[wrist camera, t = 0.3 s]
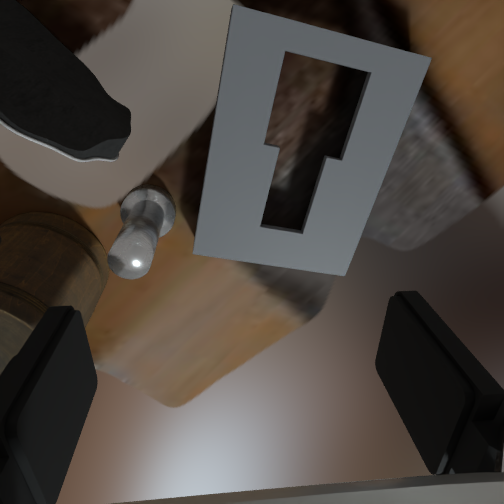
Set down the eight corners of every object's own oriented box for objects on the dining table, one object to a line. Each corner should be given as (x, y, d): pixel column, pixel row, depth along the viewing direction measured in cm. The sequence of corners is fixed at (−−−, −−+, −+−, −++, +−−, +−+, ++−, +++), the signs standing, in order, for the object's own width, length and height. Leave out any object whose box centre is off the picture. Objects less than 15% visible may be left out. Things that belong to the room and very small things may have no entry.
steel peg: (125, 180, 44) (94, 226, 33) (179, 189, 45) (166, 237, 34) (122, 227, 47) (93, 284, 36) (173, 235, 48) (160, 292, 37)
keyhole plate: (194, 237, 49) (192, 254, 45) (231, 8, 37) (233, 4, 33) (335, 258, 52) (344, 276, 48) (410, 57, 40) (431, 58, 36)
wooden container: (-9, 195, 44) (-183, 312, 25) (118, 229, 47) (52, 353, 28) (-12, 293, 50) (-152, 445, 31) (100, 316, 54) (36, 466, 35)
